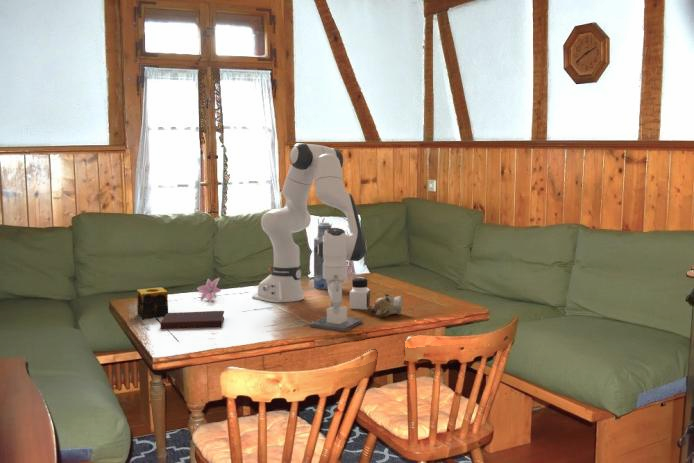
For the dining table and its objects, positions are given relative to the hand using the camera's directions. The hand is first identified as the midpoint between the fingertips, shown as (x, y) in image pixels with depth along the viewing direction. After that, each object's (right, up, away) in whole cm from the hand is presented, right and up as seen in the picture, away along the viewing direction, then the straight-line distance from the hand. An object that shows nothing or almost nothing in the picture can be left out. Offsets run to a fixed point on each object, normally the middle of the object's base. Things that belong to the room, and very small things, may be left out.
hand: (334, 310), depth 254 cm
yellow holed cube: (-71, -4, +16) cm, 73 cm away
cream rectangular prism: (+1, -4, 0) cm, 4 cm away
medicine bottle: (+10, -2, +27) cm, 29 cm away
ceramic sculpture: (+19, -4, +14) cm, 24 cm away
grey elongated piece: (-6, +3, +67) cm, 68 cm away
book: (-52, -6, +3) cm, 53 cm away
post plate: (+1, -5, 0) cm, 5 cm away
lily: (-54, 0, +43) cm, 69 cm away
